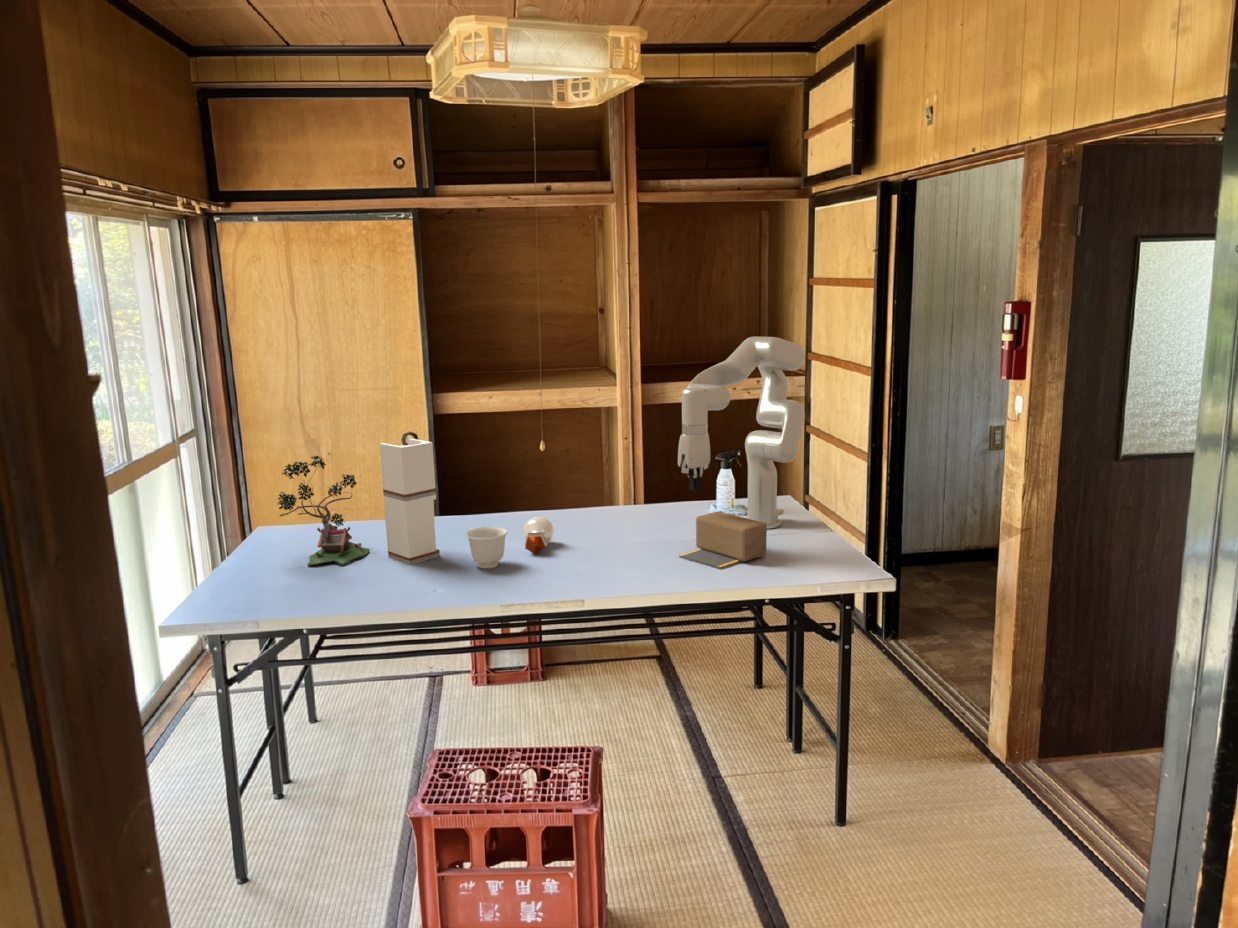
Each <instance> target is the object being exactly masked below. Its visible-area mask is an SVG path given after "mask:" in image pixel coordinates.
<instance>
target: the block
mask: <svg viewBox="0 0 1238 928" xmlns="http://www.w3.org/2000/svg"><path fill="white" fill-rule="evenodd" d="M747 518H748V517H743V516H738V515H735V514H730V513H726V512H722V511H714V512H711V513H706V514H703V515H699V516H697V517H696V518H695V519H696V520H695V530H696V532H695V546H696V548H697V549H704V550H708V551H711V552H714V553H718V554H721V555H724V556H728V557H731V558H735V559H738V560H741V561H743V562H748V561H751V560H754V559H757V558H761V557H762V556H765V555H766V554H767V538H768V537H767V530H768V529H767V525H766V524H765V523H763V522H759V521H755V520H751V519H747Z"/></svg>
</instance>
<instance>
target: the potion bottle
mask: <svg viewBox="0 0 1238 928" xmlns="http://www.w3.org/2000/svg"><path fill="white" fill-rule="evenodd" d="M522 533H523V538H524V539H525V543H524V549H525V550H527V551H529V552H531V553H532V554H533V555H538V554H539V553H541V552H542V551H543V550H545V549H546V547H547V546H548V545H549V542H551V541H552V539H553V537H554V533H555V529H554V526H553V523H552V522H551V521H550V520H549V519H548V518H547V517H543V516H541V515H536V516H534V517H531V518H530V519H528V520H527V521H526V522H524V526H523V531H522Z"/></svg>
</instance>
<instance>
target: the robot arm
mask: <svg viewBox="0 0 1238 928" xmlns="http://www.w3.org/2000/svg"><path fill="white" fill-rule="evenodd" d="M805 360H806V353H805V351H804V348H803V347H802V346H801V345H799V344H798V343H795V342H792V341H789V340H787V339H783V338H781V337H775V336H749V337H747V338H746V339H745V340H743V341H742V342H741V344H740V345H738V347H737V348H736V349H735V350H734V351H733V352H732V353H731V354H730V355H729V356H728V357H727V358H726V359H725V360H723V361H722V362H721V361H720V362H719V363H717V364H715V365H712V366H710V367H708V368H707V369H704V370H702V371H701V372H700V373H698V374H697V375H695V377H694V378H693V379H692V380H691V381H690V382H689V383H688V385H687V386H686V387H685V388H684V389H682V391H681V434H680V436H679V440H678V448H677V449H678V450H677V467H679V468H681V473H682V474H686V475H687V477H688V479H689V480H688V481H689V482H688V483H689V485H688V487H689V490H690V491H694V492H698V491H701V490H702V483H701V482H702V477H703V473H704V471H705V470H706V469H708V468H709V464H710V463H711V443H710V436H709V432H708V427H709V424H708V423H709V422H708V418H709V417H708V416H709V415H708V413H709V411H721V410H724V409H725V408H727V407H728V406H729V403H730V402H731V393H730V391H729V389H728V388H727V387H726V386H733V385H737V384H739V383H742V382H745V380H747V379H748V377H749V376H750V375H751V373H752V372H753V371H755V370H756V368H758V370H759V373H760V376H761V380H762V382H761V383H762V384H761V385H762V386H761V390H760V396H759V399H758V400H759V401H758V405H757V407H756V416H755V418H756V421H757V424H759V425H760V426H761V427H766V428H774V429H781V431H779V432H778V431H772V430H764V429H762V430H761V429H759V430H754V431H750V432H749V433H748V435H747V436H746V438H745V441H744V448H745V449H744V450H745V454H746V462H747V517H746V518H747V519H751V520H755V521H759V522H763V523H765V524H766V525H767V530H769V529H774V528H775V529H776V528H779V527H781V525H782V520H781V519H779V516H781V515H784V513H785V509H783V508H779V509H777V508H778V507H777V505H778V504H777V503H778V501H777V499H778V496H777V495H778V471H777V467H776V465H775V464H774V462H777V463H778V462H779V463H791V462H793V461H794V460H795V459H796V457H797V454H798V451H799V447H800V444H801V438H802V433H803V428H804V424H805V417H806V416H805V414H806V413H805V408H804V406H803V404H802V403H800V402H799V401H797V400H793V399H787V398H788V391H789V382H788V379H787V376H786V375H785V373H784V372H783V371H789V372H791V371H792V372H793V371H797V370H799V369H801V368H802V367H803V365H804V364H805Z"/></svg>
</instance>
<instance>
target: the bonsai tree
mask: <svg viewBox="0 0 1238 928" xmlns="http://www.w3.org/2000/svg"><path fill="white" fill-rule="evenodd" d="M310 458H311V459H313V461H312V462H310V463H308V461H303V462H302V461H299V462H298V461H295V462H294V463H293V464H289V463H288V464H287V465H285V466H284V467H286V468H284V469H283V471H282V472H281V473H282V474H281V475H284V476H285V475H286V477H287V478H288V479H289V480H292V479H294V480H295V479H296V478H295V477H294V476H293V475H295V476H297V477H298V478H299V476H300V475H301V474H303V477H304V478H307V477H308V474H309V473H311V470H310V469H309V466H311V467H314V468H315V471H314V472H313V474H312V475H311V477H310V479H309V480H308V482H307V483H305V481H303V482H304V483H303V482H300V483H299V484H298V487H299V488H298V489H297V491H298V492H297V496H300V497H299V498H297V497H296V496H295V494H293V493H291V494H288V493H287V494H286V493H285V491H280V492H279V494H278V496H279V497H278V499H277V500H278V503H277V505H278V506H279V507H278V509H279V510H282V509H284V510H285V511H288V510H289V511H288V512H287V513H282V514H280V515H279V517H284V516H285V515H287V516H288V515H290V514H291V513H293V512H295V511H298V510H299V509H300V510H301V513H297V515H300V516H301V515H309V516H311V517H314V518H319V519H321V523H322V525H323V528H321V529H320V527H319V526H318V527H317V529H316V531H318V532H319V533H320V535H319V536H320V537H319V540H318V543H317V548H321V549H319V550H317V551H316V552H315V553H313V554H311V555H309V556H308V558H309V562H308V563H307V567H308V568H309V567H312V566H316V565H321V564H329V563H333V562H335V563H337V564H339V565H341V566H344V565H346V564H348V563H350V562H352V561H353V560H355V559H359V558H363V557H364V556H367V555H368V554H369V552H370V549H371V548H367V547H363V546H362V543H361V542H359V543H355V542H351V541H350V540H352V538H353V536H352V535H351V534H350V533H349V531H350V530H351V527H350V526H348V527H344V528H341V529H338V528H339V527H340V526H344V523H346V520H344V518H342V517H343V514H338V513H336V512H335V513H334V514H332V516H331V512H330V510H329V508H328V505H330V504H332V503H334V502H338V501H341V500H342V501H343V500H351V499H352V498H353V493H351V492H348V491H346V492H345V491H343V490H344V489H346V487H348V486H349V485H350V488H351V489H353V488H354V487H355V486H356V485H357V481H356V480H355V479H356V478H355V475H354V474H351V475H349V474H344V473H343V474H342V477H343V480H342V481H340V482H338V481H337V482H336V483H335V484H333V485H331V487H330V486H329V487H328V489H329V490H328V491H327V494H328V495H327V496H326V497H325V498H322V500H321V501H320V502H319V503H318V504H315V505H313V503H312V500H311V499H312V497H313V496H315V493H314V492H313V491H314V487H313V484H312V483H310V481H311V479H312V478H313V475H314V474H315V473H316V471H317V469H318V468H319V467H320V468H322V470H323V471H324V469H325V467H326V466H327V464H326V463H325V460H323V458H322V457H321V456H319V455H313V456H310ZM298 481H300V479H297V482H298ZM339 483H340V484H339ZM309 484H310V485H311V487H310V485H309ZM338 484H339V485H338ZM343 486H344V488H343ZM342 491H343V493H346V494H350V497H340V498H334V499H332V500H329V501H328V502H326V503H325V504H324V506H322V503H323V502H324V501H325V500H327V499H329V498H331V497H334V496H335V497H338V496H342ZM297 499H298V500H301V505H299V506H298V505H296V503H297ZM308 500H309V502H310V505H304V501H308ZM294 506H295V507H296V508H295V509H294ZM306 508H313V510H314V512H315V513H312V512H309V511H308V510H306ZM302 509H303V510H302ZM320 509H323V510H324V511H325V512H326V514H324V513H323V512H322V511H321V510H320ZM304 512H305V513H304ZM317 513H318V514H317ZM329 521H330V522H331V523H330V522H329ZM343 522H344V523H343ZM332 523H333V524H335V525H333V524H332Z"/></svg>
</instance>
